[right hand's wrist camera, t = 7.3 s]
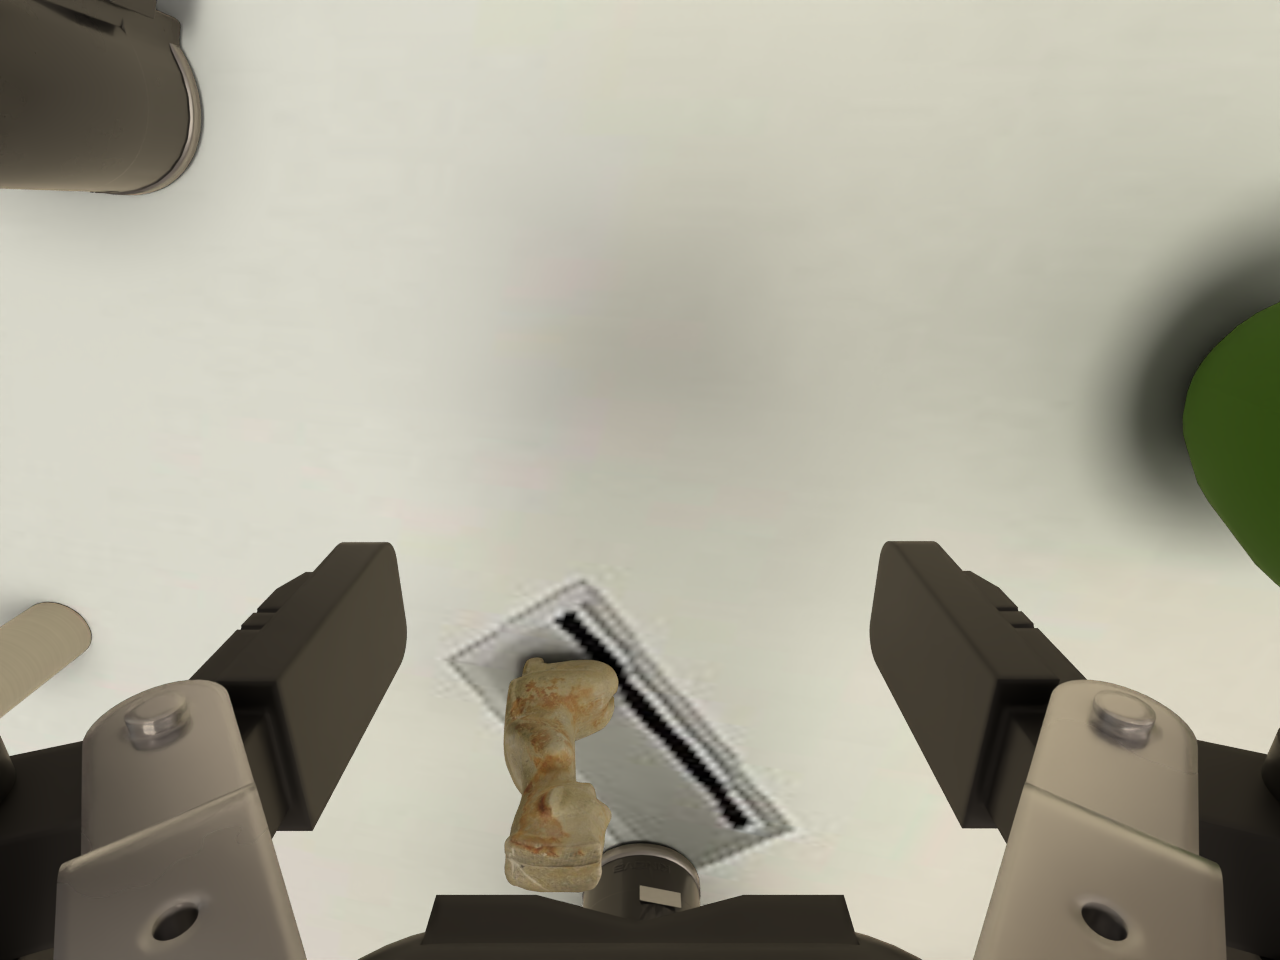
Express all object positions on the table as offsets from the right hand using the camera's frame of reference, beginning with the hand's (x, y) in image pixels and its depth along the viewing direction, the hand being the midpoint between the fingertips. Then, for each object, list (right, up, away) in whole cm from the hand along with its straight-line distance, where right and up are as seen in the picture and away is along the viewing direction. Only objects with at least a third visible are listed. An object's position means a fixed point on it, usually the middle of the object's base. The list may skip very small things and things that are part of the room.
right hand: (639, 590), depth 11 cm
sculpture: (-5, -12, +36) cm, 38 cm away
